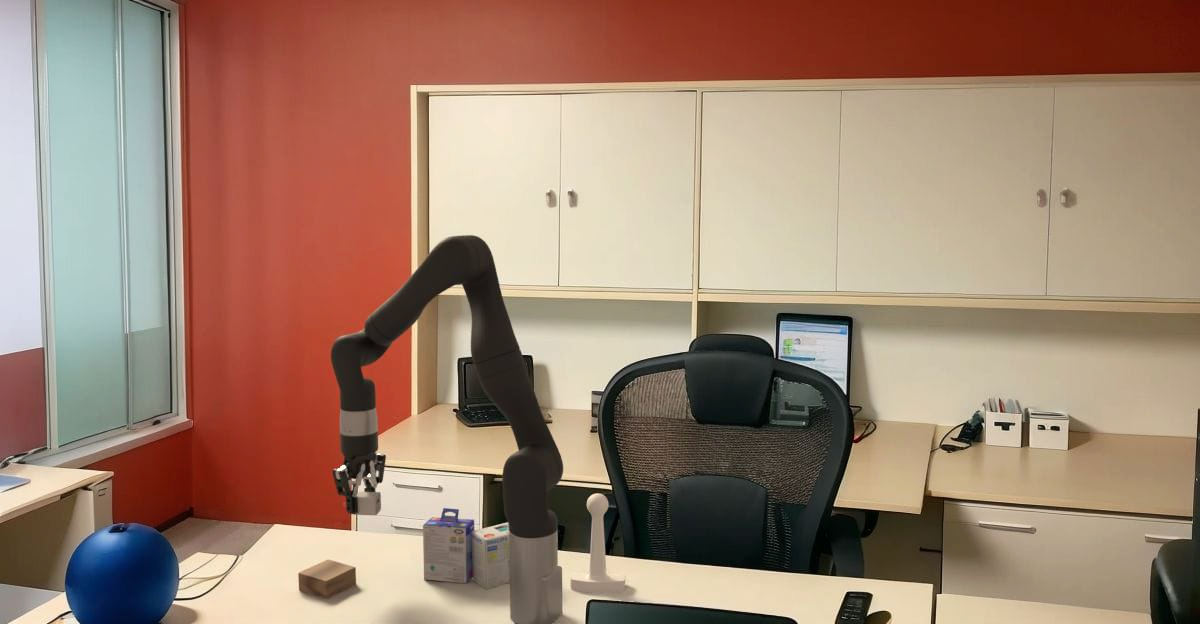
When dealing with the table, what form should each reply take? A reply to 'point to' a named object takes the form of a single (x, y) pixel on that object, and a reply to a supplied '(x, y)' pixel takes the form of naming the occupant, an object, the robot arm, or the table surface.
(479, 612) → the table surface
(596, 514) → the joystick
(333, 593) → the walnut block
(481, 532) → the light bulb box
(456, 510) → the ink cartridge box
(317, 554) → the table surface
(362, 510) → the usb wall charger
